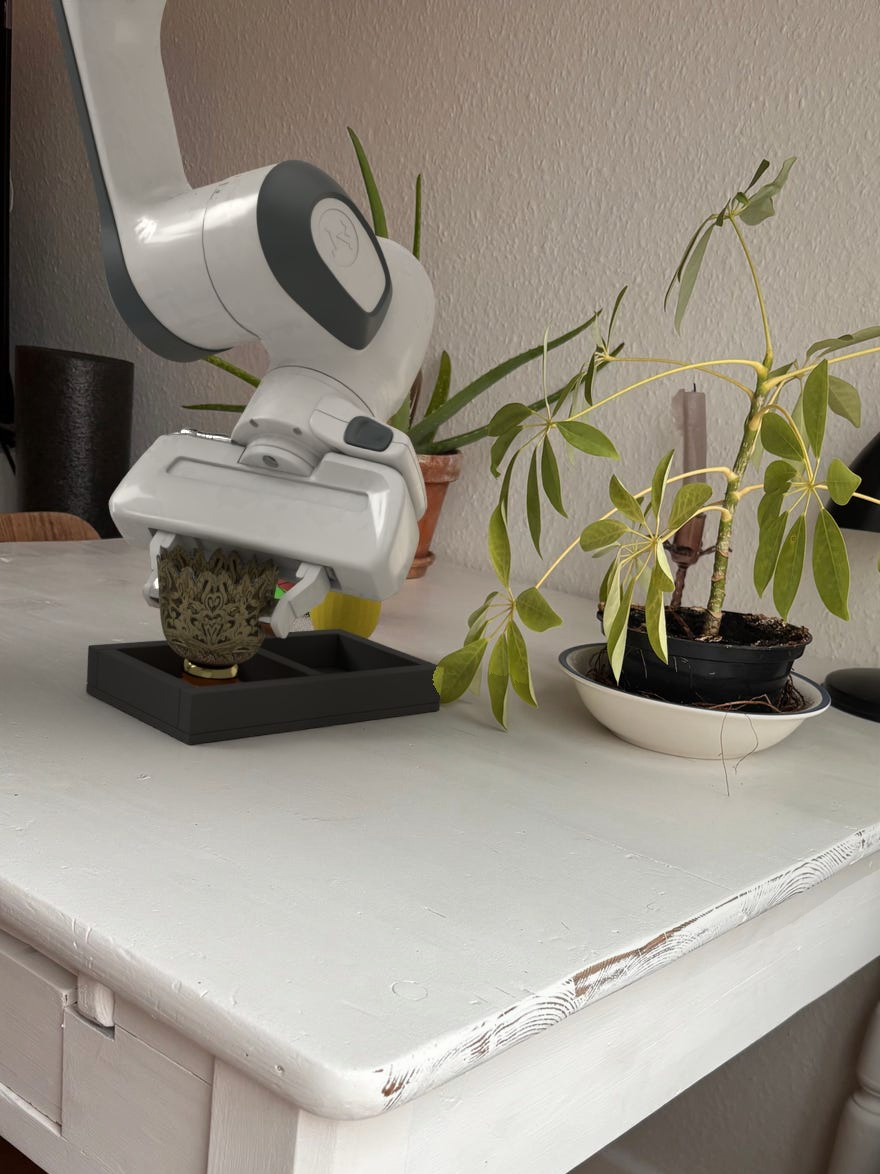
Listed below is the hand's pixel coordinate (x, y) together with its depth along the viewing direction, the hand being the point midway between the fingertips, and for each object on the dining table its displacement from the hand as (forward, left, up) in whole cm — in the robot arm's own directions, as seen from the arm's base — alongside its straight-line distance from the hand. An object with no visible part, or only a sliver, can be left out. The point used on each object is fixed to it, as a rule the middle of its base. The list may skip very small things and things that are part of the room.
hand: (212, 617), depth 80 cm
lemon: (-9, +19, -6) cm, 22 cm away
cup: (0, 0, -5) cm, 5 cm away
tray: (0, +5, -6) cm, 8 cm away
